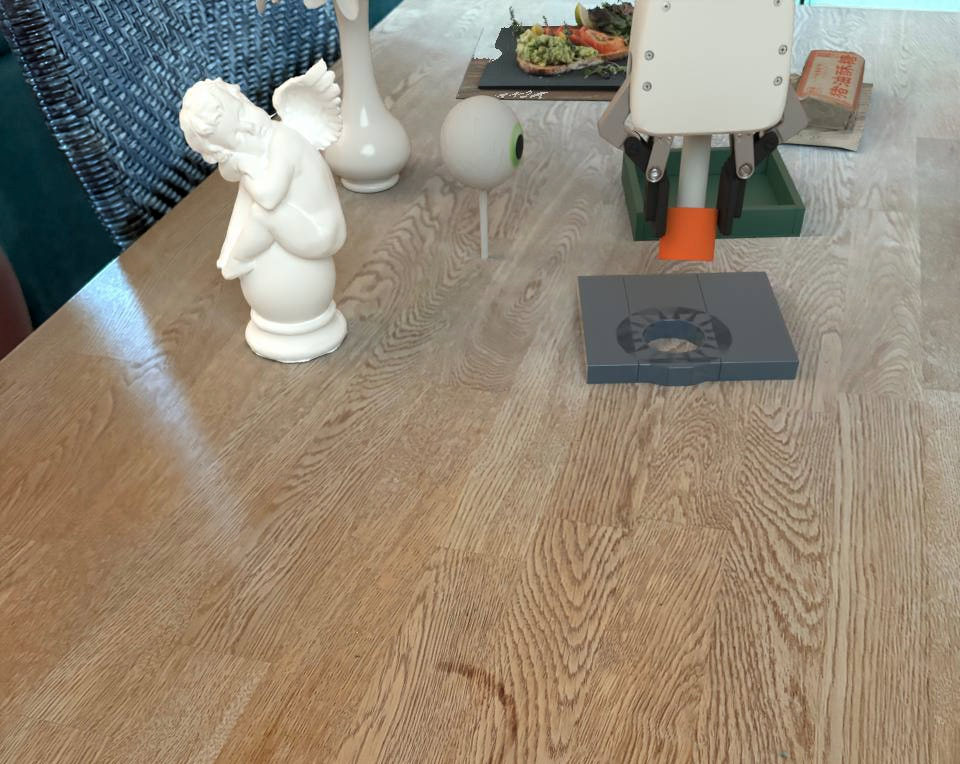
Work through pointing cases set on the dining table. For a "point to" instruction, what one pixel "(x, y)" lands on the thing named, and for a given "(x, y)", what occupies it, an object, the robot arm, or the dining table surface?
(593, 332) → the plate
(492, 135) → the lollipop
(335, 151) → the flower vase
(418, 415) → the dining table surface
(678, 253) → the stopper
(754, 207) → the green tray
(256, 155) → the cherub figurine
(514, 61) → the plated dish
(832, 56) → the packaged product
